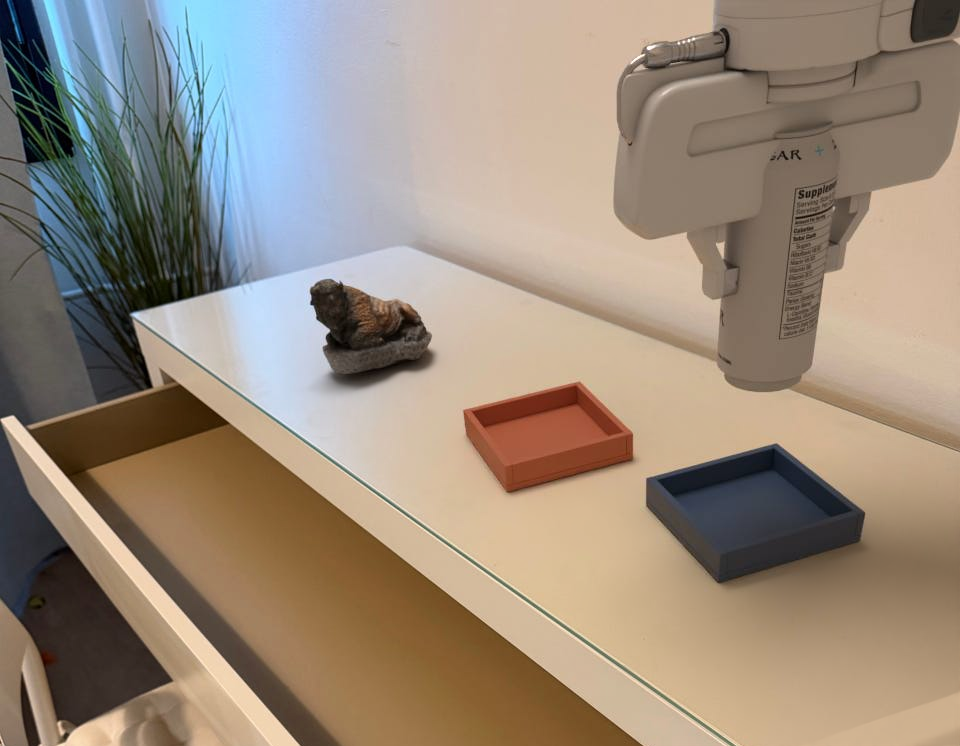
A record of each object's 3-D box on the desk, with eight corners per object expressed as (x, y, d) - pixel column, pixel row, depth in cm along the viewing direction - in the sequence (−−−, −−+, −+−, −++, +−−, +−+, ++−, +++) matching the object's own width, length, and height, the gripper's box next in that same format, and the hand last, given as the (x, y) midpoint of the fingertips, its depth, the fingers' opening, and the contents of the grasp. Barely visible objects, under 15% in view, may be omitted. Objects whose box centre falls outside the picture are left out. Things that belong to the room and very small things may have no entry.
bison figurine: (415, 340, 101) (401, 245, 95) (448, 360, 97) (435, 261, 90) (316, 374, 97) (294, 277, 91) (344, 396, 92) (323, 295, 86)
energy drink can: (747, 349, 65) (768, 106, 55) (828, 368, 61) (865, 113, 52) (697, 382, 62) (710, 131, 52) (779, 404, 58) (809, 140, 49)
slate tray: (773, 469, 74) (776, 442, 72) (860, 541, 66) (866, 512, 64) (645, 504, 72) (645, 477, 70) (718, 583, 64) (720, 554, 62)
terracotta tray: (580, 405, 86) (579, 380, 84) (633, 459, 77) (633, 433, 76) (465, 434, 84) (462, 409, 82) (507, 492, 76) (504, 466, 74)
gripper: (644, 56, 44) (642, 336, 53) (1005, -9, 48) (946, 263, 57) (591, 42, 49) (597, 301, 58) (923, -17, 53) (881, 236, 62)
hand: (772, 282), depth 58 cm, fingers closed on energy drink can, 6 cm apart
